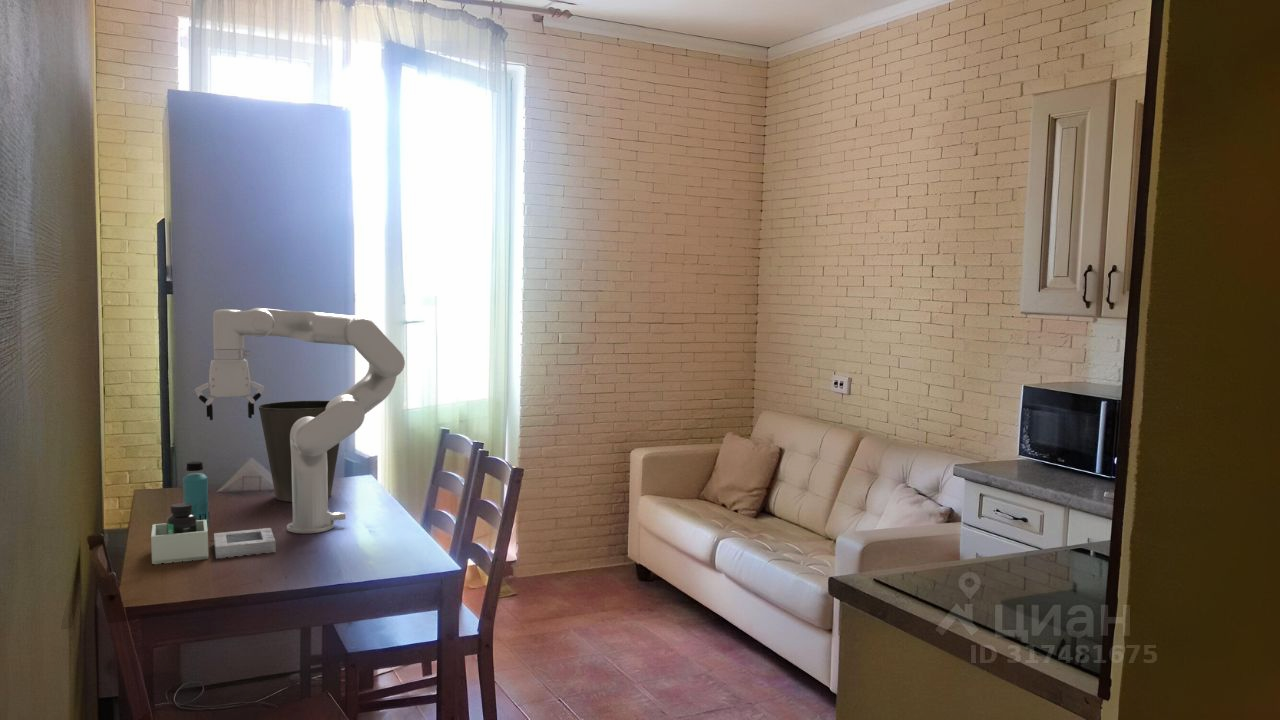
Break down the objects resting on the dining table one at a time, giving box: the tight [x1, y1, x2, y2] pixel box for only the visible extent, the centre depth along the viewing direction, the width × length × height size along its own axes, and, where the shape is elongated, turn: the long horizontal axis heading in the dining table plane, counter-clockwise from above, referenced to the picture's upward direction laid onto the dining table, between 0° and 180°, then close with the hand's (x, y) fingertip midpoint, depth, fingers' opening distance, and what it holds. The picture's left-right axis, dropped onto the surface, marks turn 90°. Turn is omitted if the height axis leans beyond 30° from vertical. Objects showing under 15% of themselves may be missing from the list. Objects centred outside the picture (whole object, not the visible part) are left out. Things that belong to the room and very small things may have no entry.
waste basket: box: [257, 400, 341, 503], centre depth 305 cm, size 27×20×30 cm
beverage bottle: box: [182, 460, 211, 530], centre depth 260 cm, size 6×7×20 cm
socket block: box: [213, 527, 277, 560], centre depth 247 cm, size 14×14×3 cm
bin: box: [150, 520, 209, 565], centre depth 241 cm, size 13×13×7 cm
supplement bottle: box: [166, 502, 197, 534], centre depth 241 cm, size 7×7×12 cm
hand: (230, 418), depth 256 cm, fingers open, 9 cm apart
